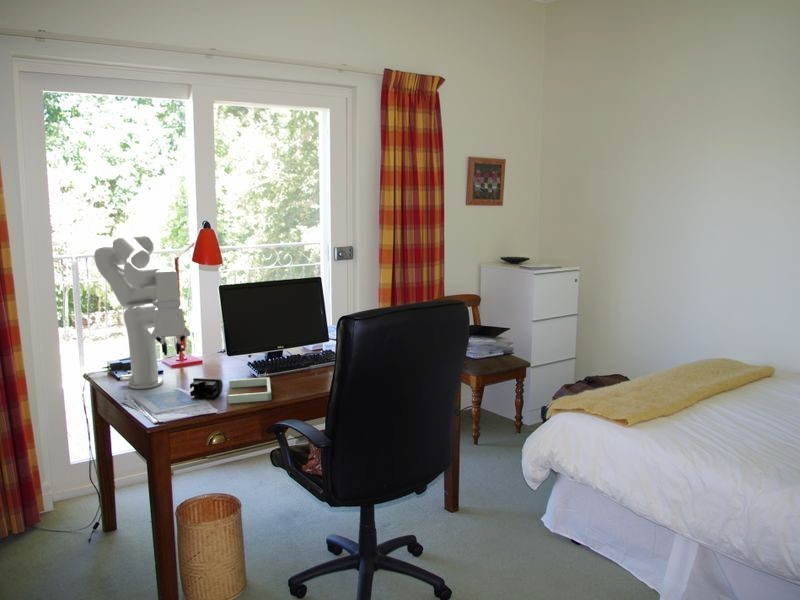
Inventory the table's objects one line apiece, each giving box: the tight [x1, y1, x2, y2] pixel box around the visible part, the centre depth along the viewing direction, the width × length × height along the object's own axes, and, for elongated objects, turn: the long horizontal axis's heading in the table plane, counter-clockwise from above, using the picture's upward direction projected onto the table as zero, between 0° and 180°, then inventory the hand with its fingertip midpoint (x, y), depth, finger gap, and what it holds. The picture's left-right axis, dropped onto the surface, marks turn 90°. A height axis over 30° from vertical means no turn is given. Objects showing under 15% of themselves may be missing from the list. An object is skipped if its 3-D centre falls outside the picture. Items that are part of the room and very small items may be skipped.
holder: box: [227, 376, 272, 404], centre depth 244 cm, size 15×18×3 cm
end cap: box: [189, 377, 224, 402], centre depth 240 cm, size 10×7×7 cm
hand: (172, 353), depth 235 cm, fingers open, 3 cm apart
